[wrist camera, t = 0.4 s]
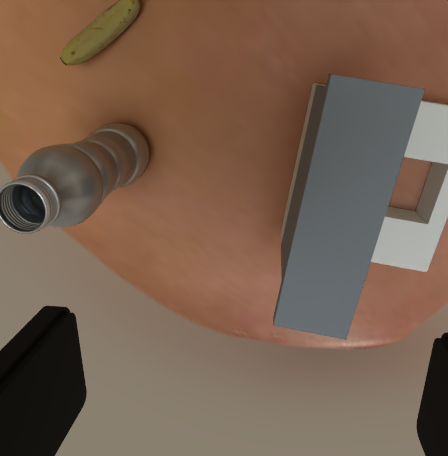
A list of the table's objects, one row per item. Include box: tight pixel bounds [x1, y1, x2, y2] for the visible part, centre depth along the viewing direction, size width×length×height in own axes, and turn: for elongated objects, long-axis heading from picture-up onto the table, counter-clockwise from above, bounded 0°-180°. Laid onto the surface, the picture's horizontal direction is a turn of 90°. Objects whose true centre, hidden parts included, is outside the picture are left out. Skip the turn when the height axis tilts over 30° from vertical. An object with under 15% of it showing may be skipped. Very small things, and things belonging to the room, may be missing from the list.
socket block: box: [273, 74, 448, 340], centre depth 36 cm, size 18×16×17 cm
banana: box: [60, 0, 140, 65], centre depth 40 cm, size 10×2×4 cm, turn 129°
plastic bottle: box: [0, 123, 149, 234], centre depth 36 cm, size 6×7×20 cm
